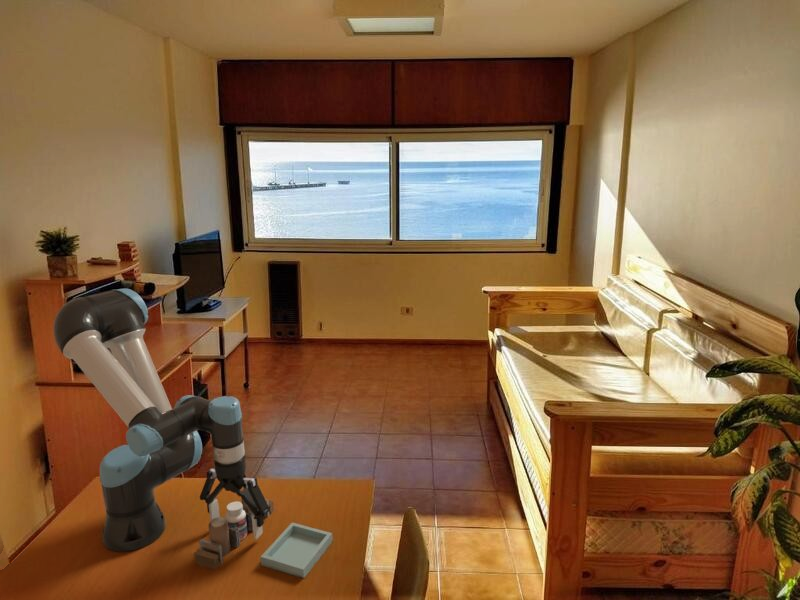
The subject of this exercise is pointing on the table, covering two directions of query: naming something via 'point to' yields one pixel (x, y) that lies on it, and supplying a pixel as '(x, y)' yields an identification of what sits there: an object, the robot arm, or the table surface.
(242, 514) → the pill bottle
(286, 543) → the tray
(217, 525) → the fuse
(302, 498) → the table surface
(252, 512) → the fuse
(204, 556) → the clip rail
